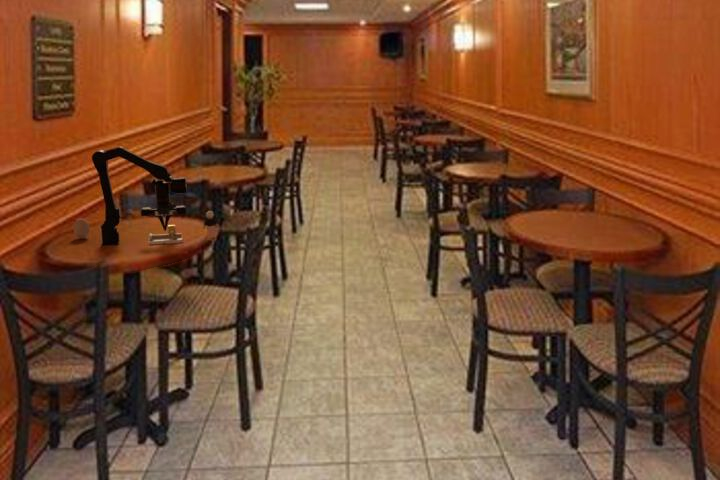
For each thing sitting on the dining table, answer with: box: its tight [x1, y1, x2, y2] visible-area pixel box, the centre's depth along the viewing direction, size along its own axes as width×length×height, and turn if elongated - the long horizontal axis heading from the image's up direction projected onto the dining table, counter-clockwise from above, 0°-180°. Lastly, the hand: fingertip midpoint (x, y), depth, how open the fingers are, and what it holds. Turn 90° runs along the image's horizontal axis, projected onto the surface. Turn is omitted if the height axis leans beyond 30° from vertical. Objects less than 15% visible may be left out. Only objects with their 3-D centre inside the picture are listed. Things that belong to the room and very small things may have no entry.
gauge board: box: [148, 232, 184, 245], centre depth 330 cm, size 14×10×3 cm
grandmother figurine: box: [202, 210, 220, 241], centre depth 331 cm, size 8×4×13 cm, turn 141°
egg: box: [73, 217, 90, 240], centre depth 336 cm, size 7×7×9 cm
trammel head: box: [167, 224, 176, 238], centre depth 330 cm, size 3×6×5 cm, turn 14°
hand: (165, 230), depth 331 cm, fingers closed
